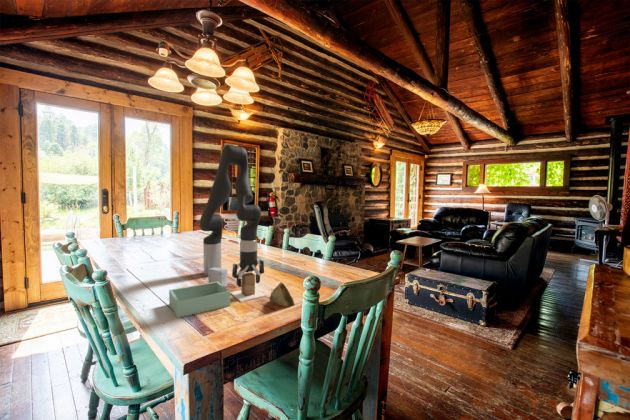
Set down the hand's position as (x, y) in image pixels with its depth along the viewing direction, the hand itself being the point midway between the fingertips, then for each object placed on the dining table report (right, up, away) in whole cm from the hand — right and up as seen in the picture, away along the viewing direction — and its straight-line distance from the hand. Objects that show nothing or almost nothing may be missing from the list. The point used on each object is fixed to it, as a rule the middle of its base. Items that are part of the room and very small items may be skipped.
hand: (248, 284), depth 129 cm
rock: (+16, -6, -8) cm, 19 cm away
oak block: (0, -4, 0) cm, 4 cm away
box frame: (-17, -5, -12) cm, 22 cm away
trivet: (0, -5, 0) cm, 5 cm away
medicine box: (-17, -4, +10) cm, 20 cm away
